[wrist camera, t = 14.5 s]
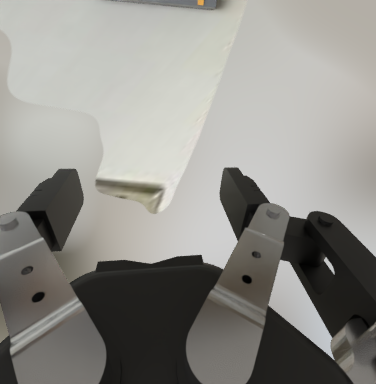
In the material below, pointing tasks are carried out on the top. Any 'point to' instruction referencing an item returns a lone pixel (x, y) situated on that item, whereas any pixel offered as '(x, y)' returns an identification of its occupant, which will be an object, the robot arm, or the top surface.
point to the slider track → (179, 3)
